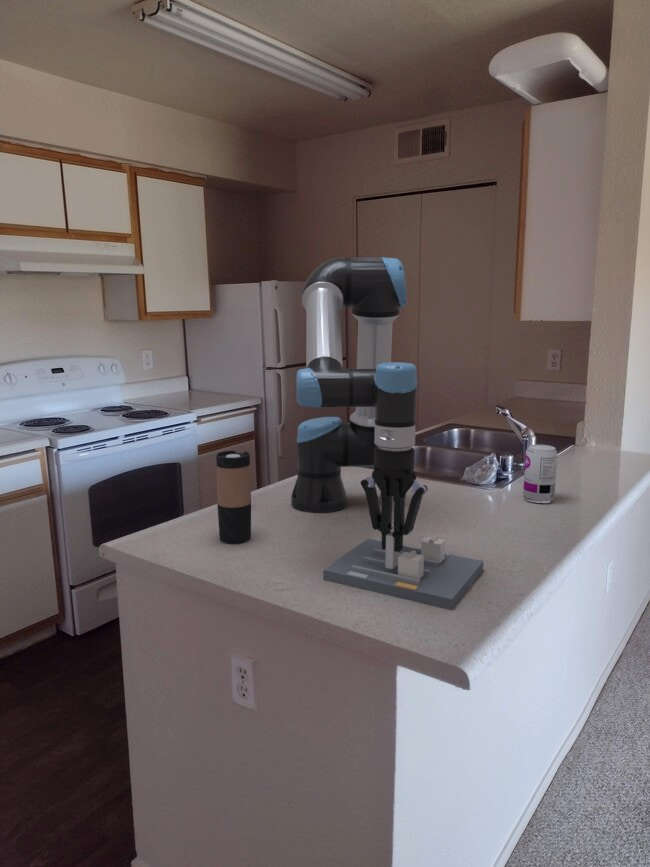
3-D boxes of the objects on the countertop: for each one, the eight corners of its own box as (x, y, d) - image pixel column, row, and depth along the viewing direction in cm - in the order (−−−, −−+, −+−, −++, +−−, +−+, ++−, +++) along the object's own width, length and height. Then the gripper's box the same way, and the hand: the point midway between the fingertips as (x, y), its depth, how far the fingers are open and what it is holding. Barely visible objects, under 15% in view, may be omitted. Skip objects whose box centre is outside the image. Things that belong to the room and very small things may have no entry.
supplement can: (521, 502, 176) (524, 449, 173) (524, 494, 184) (527, 443, 181) (553, 506, 173) (557, 451, 170) (554, 497, 181) (558, 445, 178)
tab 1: (397, 576, 122) (398, 554, 122) (403, 571, 125) (404, 548, 124) (417, 581, 120) (418, 557, 120) (423, 575, 123) (424, 552, 122)
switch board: (323, 579, 127) (323, 565, 126) (367, 547, 144) (367, 534, 143) (451, 609, 114) (452, 593, 114) (483, 570, 131) (483, 556, 131)
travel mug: (224, 546, 144) (222, 459, 140) (214, 536, 151) (211, 452, 147) (256, 541, 147) (255, 455, 143) (245, 530, 154) (243, 449, 150)
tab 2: (420, 559, 131) (421, 538, 130) (426, 555, 133) (426, 533, 132) (439, 563, 129) (440, 541, 128) (444, 558, 131) (445, 537, 130)
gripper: (354, 446, 120) (352, 566, 124) (420, 454, 114) (416, 579, 118) (371, 439, 126) (369, 553, 131) (434, 446, 120) (430, 565, 125)
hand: (391, 565), depth 125 cm, fingers closed
